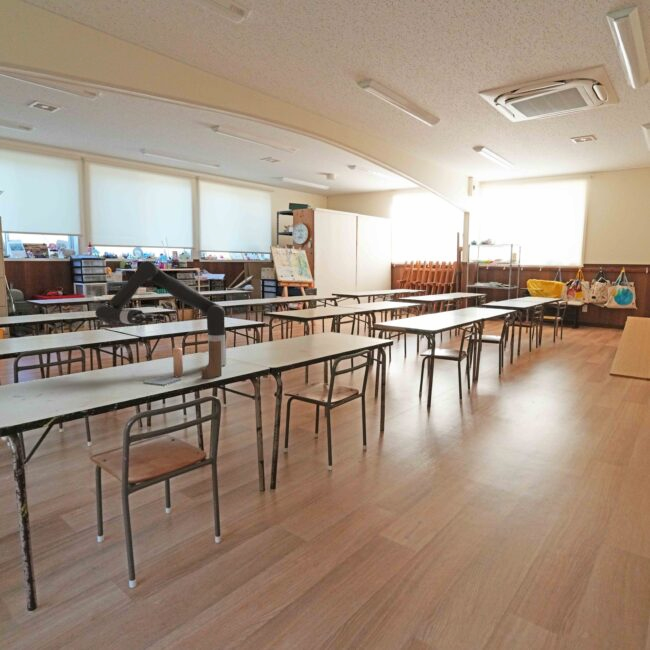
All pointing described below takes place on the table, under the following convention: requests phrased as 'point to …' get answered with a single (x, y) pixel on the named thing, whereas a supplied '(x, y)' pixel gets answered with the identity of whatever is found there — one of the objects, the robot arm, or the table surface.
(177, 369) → the tan tall cylinder
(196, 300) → the robot arm
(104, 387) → the table surface
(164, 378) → the rubber mat
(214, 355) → the brown boot
